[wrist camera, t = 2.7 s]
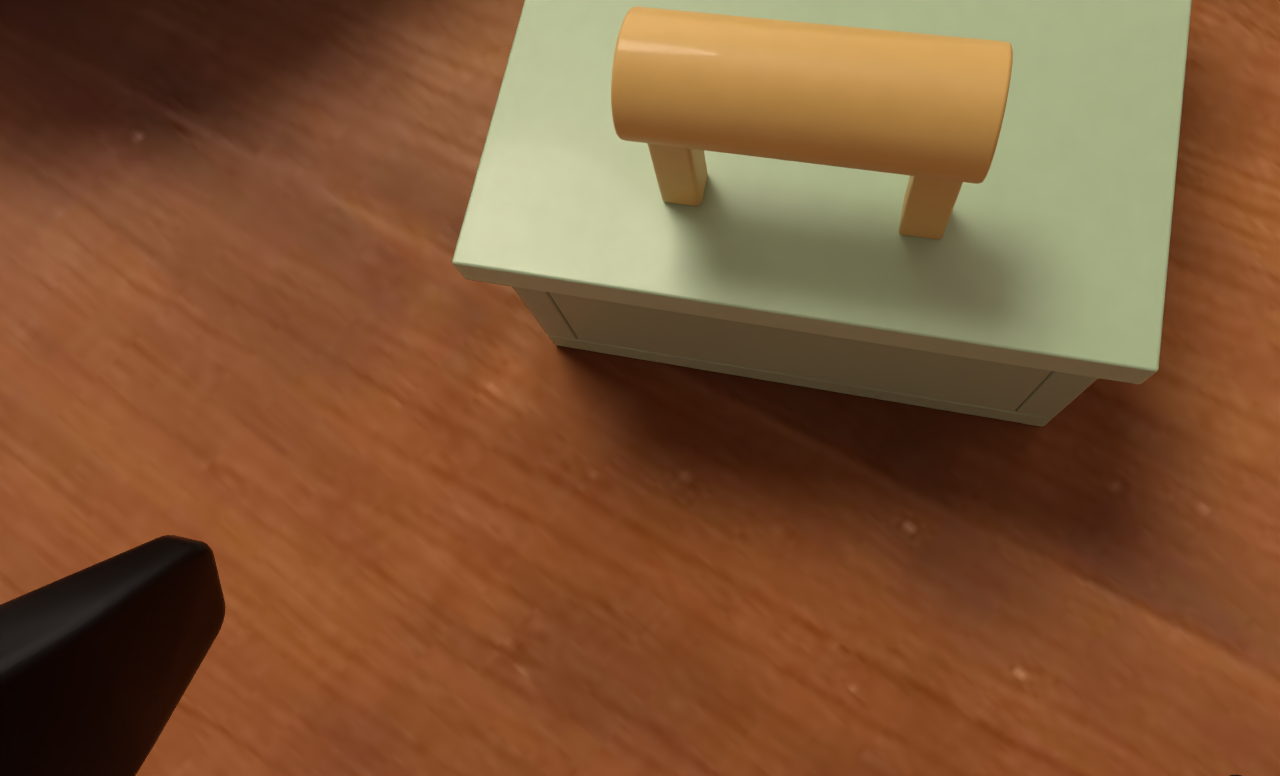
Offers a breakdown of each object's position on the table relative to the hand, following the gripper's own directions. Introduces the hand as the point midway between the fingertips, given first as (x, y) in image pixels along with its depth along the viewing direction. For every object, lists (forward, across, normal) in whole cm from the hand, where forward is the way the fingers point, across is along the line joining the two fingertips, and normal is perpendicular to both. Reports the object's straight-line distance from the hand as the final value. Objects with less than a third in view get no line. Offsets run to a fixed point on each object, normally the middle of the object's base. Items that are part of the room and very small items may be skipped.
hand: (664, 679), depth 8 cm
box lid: (+13, 0, -3) cm, 14 cm away
